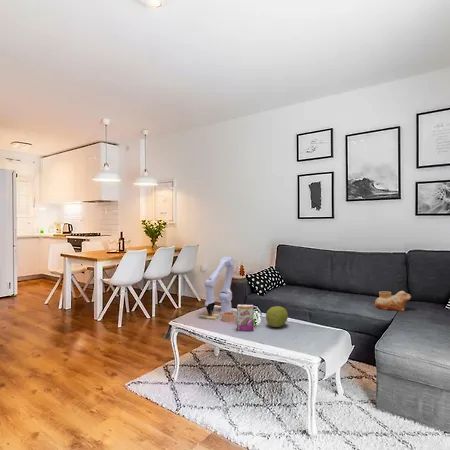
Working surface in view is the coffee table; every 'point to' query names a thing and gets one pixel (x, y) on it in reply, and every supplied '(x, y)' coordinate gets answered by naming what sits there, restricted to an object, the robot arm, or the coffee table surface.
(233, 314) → the terracotta bowl
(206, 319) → the grey flat square slab
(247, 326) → the candy bar box
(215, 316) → the oak lid
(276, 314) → the fruit
